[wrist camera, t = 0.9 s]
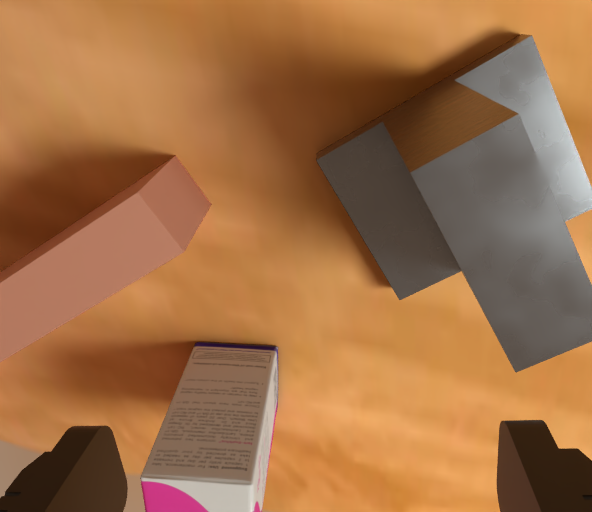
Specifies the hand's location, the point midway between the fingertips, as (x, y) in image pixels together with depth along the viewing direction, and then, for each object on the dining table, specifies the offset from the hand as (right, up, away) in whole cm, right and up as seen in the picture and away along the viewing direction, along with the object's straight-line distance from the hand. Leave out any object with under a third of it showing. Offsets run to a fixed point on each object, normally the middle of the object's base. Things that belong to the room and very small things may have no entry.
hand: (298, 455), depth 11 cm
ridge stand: (+9, +9, +19) cm, 23 cm away
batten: (-16, +3, +23) cm, 28 cm away
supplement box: (-4, -4, +26) cm, 27 cm away
